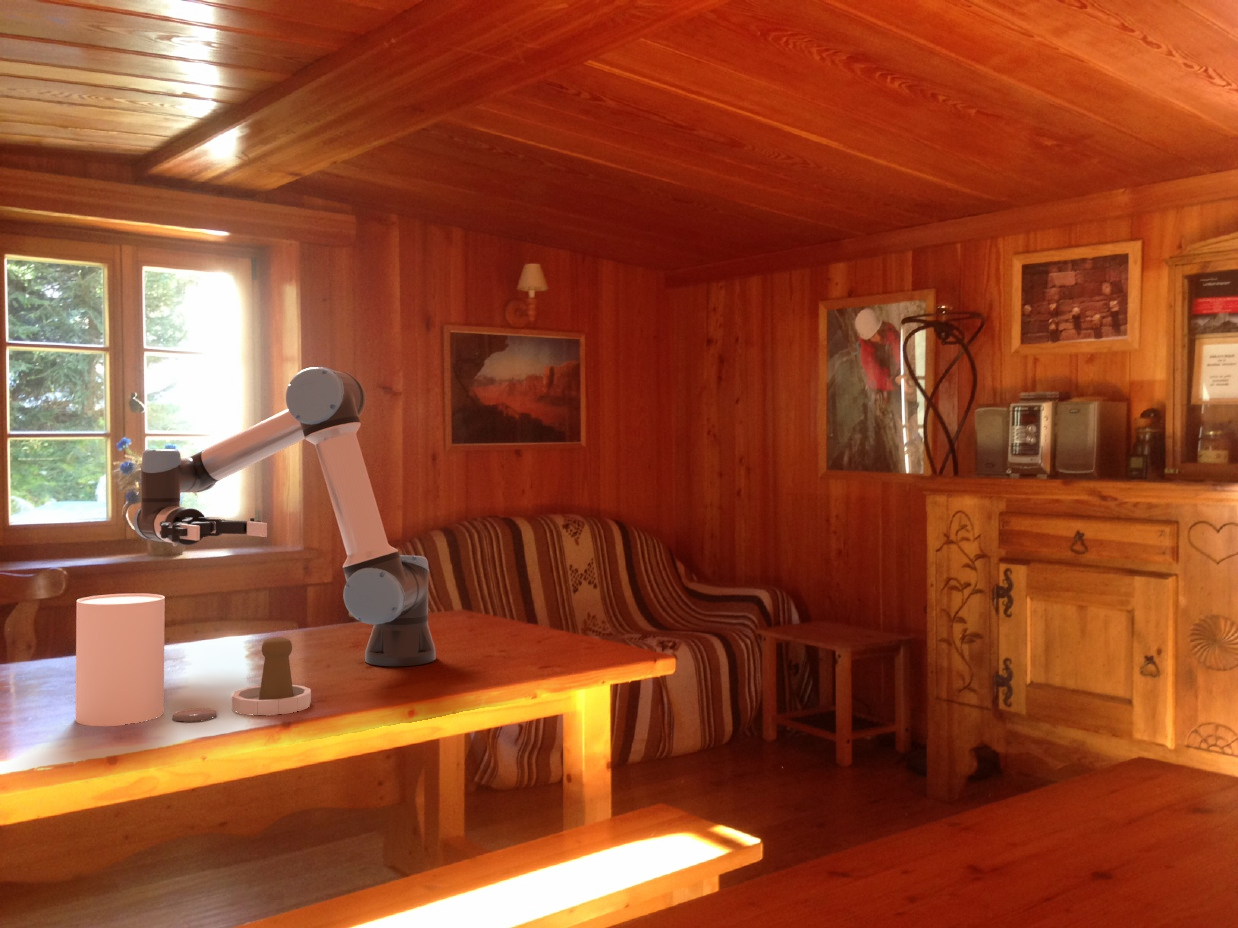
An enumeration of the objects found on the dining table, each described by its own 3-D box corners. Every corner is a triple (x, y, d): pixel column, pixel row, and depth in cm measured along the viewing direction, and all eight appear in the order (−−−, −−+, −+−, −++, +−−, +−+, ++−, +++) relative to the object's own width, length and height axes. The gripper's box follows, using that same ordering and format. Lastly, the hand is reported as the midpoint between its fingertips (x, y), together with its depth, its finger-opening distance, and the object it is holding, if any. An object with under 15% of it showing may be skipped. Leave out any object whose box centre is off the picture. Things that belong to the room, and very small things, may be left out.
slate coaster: (219, 711, 181) (219, 707, 181) (213, 721, 175) (213, 717, 175) (176, 712, 180) (176, 709, 180) (168, 722, 173) (168, 719, 173)
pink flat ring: (312, 696, 193) (312, 683, 193) (307, 713, 180) (307, 699, 180) (238, 699, 190) (238, 685, 190) (227, 716, 177) (228, 702, 177)
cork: (283, 704, 183) (284, 641, 182) (251, 702, 184) (252, 640, 184) (300, 696, 188) (300, 636, 188) (269, 694, 190) (270, 634, 190)
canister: (72, 729, 168) (73, 605, 168) (78, 710, 181) (79, 595, 181) (163, 721, 174) (164, 602, 174) (163, 703, 186) (164, 592, 186)
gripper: (238, 540, 222) (291, 547, 208) (118, 547, 204) (167, 555, 190) (239, 505, 222) (291, 510, 208) (119, 509, 204) (167, 514, 190)
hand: (232, 531), depth 199 cm, fingers open, 13 cm apart
